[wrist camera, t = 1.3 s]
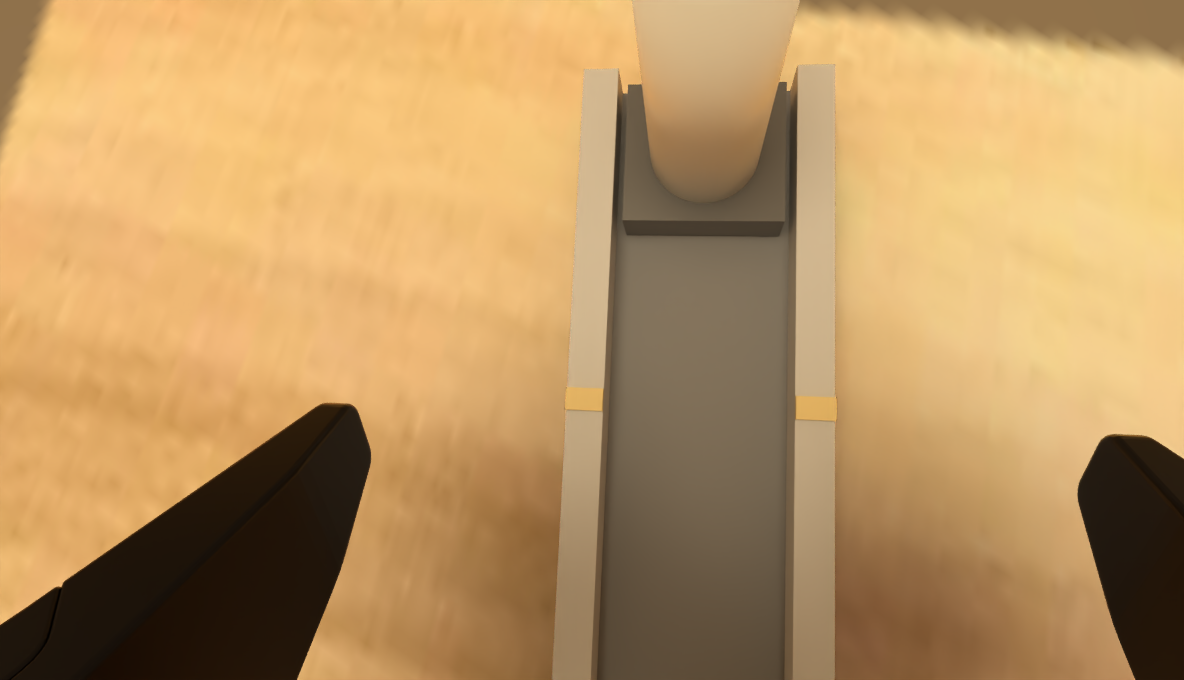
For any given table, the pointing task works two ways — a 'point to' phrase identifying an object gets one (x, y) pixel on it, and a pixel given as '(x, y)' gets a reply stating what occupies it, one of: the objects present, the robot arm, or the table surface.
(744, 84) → the fader slider
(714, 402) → the fader console
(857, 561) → the table surface
